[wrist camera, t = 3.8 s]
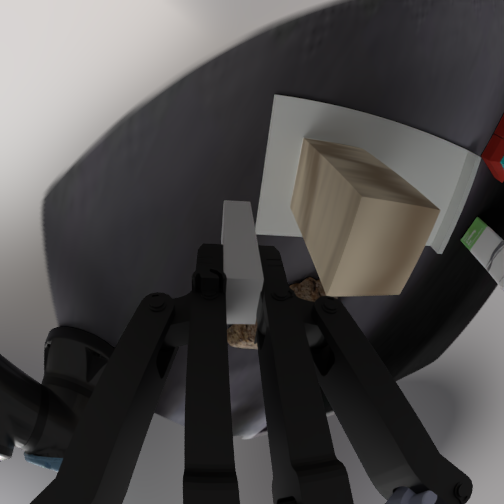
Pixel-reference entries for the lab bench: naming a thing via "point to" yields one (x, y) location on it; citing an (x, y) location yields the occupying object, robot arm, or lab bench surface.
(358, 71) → the lab bench surface
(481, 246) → the ink box
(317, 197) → the block
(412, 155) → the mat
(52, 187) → the lab bench surface
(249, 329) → the rock
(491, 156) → the toy robot
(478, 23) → the lab bench surface
